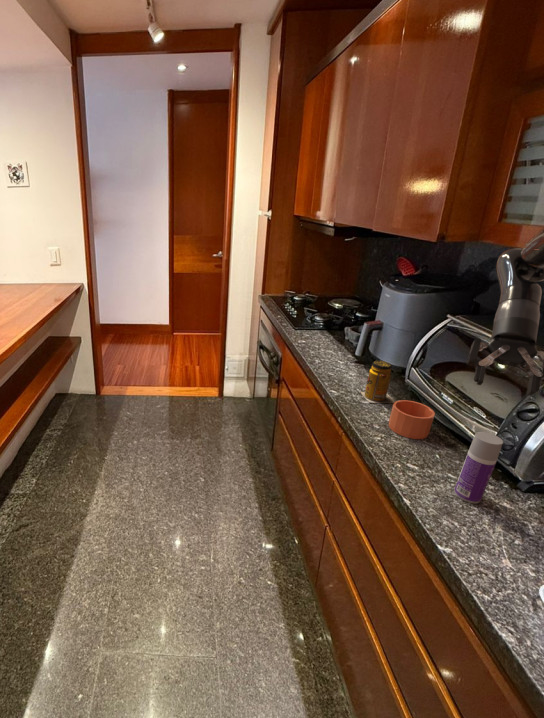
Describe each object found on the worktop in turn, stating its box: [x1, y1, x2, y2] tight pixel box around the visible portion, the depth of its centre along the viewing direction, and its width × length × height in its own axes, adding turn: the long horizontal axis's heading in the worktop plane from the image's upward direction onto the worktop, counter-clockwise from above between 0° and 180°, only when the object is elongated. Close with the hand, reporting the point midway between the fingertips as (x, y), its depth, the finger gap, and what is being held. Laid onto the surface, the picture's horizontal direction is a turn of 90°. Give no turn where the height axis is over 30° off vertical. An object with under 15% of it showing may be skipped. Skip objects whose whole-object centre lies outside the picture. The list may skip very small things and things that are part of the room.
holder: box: [388, 399, 436, 440], centre depth 106 cm, size 10×10×6 cm
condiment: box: [360, 360, 396, 404], centre depth 122 cm, size 7×8×12 cm
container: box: [453, 431, 504, 504], centre depth 81 cm, size 5×5×15 cm
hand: (504, 388), depth 83 cm, fingers open, 8 cm apart
